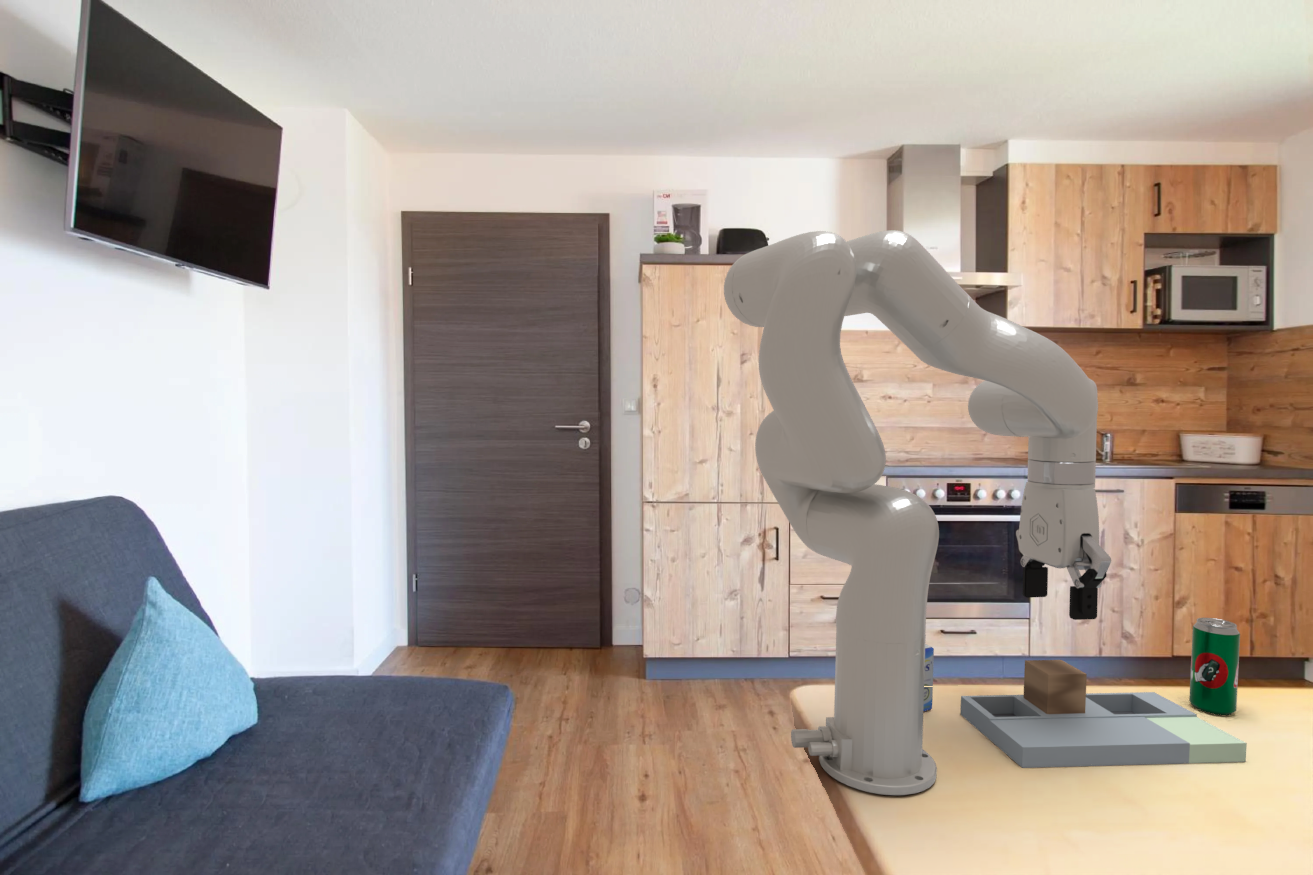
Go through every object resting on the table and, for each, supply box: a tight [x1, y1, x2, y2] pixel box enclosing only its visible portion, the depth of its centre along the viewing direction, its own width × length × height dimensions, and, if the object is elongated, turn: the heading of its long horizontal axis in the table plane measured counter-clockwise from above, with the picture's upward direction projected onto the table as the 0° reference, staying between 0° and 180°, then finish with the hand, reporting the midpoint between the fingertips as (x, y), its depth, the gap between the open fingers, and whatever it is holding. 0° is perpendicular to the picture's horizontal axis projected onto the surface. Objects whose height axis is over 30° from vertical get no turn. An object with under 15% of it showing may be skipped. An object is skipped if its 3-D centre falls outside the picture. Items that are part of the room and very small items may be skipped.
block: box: [1023, 659, 1088, 714], centre depth 92 cm, size 5×5×5 cm
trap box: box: [960, 691, 1248, 769], centre depth 89 cm, size 27×14×2 cm, turn 94°
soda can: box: [1188, 617, 1241, 716], centre depth 98 cm, size 5×5×12 cm
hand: (1057, 607), depth 92 cm, fingers open, 9 cm apart
